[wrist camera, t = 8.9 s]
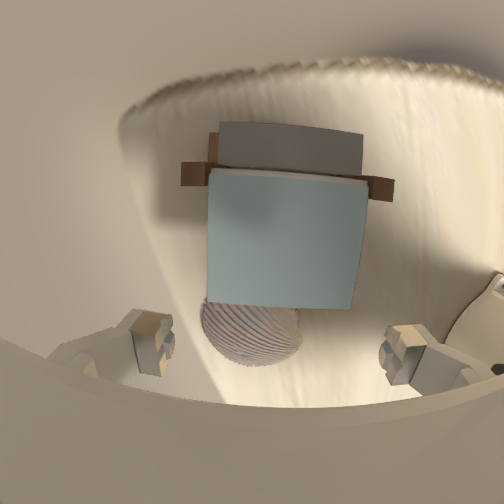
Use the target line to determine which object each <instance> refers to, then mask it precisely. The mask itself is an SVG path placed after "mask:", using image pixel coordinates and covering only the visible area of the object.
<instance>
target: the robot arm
mask: <svg viewBox="0 0 504 504" xmlns="http://www.w3.org/2000/svg"><path fill="white" fill-rule="evenodd" d="M172 326H173V320H172V316H171V314H167V313H161V312H154V311H148V310H143V309H132V310H131V311H130V312H129V313H128V314H127V315H126V316H125V317H124V319H123V320H122V321H121V322H120V323H119V324H118V325H117V327H115V328H108V329H105V330H103V331H100V332H97V333H94V334H91V335H88V336H85V337H82V338H79V339H76V340H73V341H70V342H67V343H63V344H61V345H59V346H58V347H57V348H56V349H55V350H54V351H53V352H52V353H51V354H50V355H49V356H48V357H47V358H43V357H41V356H39V355H36V354H34V353H32V352H30V351H28V350H25V349H23V348H21V347H19V346H17V345H15V344H13V343H11V342H9V341H7V340H5V339H3V338H1V337H0V504H504V275H502V274H497V275H496V276H495V277H494V278H493V280H492V281H491V283H490V284H489V286H488V287H487V289H486V290H485V291H484V292H483V293H482V294H481V295H480V296H479V297H478V298H476V299H475V300H474V301H473V302H472V303H471V304H470V305H469V306H468V307H467V308H466V309H465V311H464V312H463V313H462V314H461V316H460V317H459V318H458V320H457V321H456V323H455V324H454V326H453V327H452V329H451V331H450V333H449V335H448V337H447V339H446V341H445V344H439V343H438V342H437V340H436V339H435V338H434V337H433V336H432V335H431V334H430V332H429V331H428V330H427V329H426V328H425V327H424V326H423V325H422V324H412V325H397V326H388V328H387V329H386V332H385V335H384V336H385V339H386V341H385V342H384V343H383V344H382V345H381V347H380V351H379V362H380V365H381V367H382V368H383V369H385V370H386V371H387V372H386V374H385V375H386V377H387V379H388V381H389V383H390V385H391V386H394V385H404V384H409V385H410V386H411V387H413V388H414V389H415V390H416V391H418V392H419V393H420V394H421V395H423V396H422V397H416V398H411V399H405V400H399V401H392V402H385V403H377V404H368V405H358V406H345V407H327V408H273V407H254V406H241V405H230V404H221V403H212V402H205V401H198V400H192V399H185V398H180V397H174V396H169V395H164V394H159V393H154V392H150V391H145V390H141V389H137V388H133V387H129V386H125V385H124V384H125V383H127V382H128V381H130V380H131V379H133V378H135V377H136V376H137V375H139V374H140V373H143V374H148V375H154V376H159V377H161V376H162V375H163V373H164V371H165V369H166V367H167V361H166V360H168V359H170V358H171V356H172V354H173V351H174V344H175V339H174V334H173V333H172V331H171V330H170V329H171V327H172Z"/></svg>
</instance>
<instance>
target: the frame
mask: <svg viewBox="0 0 504 504" xmlns="http://www.w3.org/2000/svg"><path fill="white" fill-rule="evenodd" d="M218 147H219V133H210V134H209V151H208V162H182V164H181V186H208V185H209V174H211V169H212V168H221V169H226V166H224V165H219V164H218ZM213 163H215V164H213ZM338 177H341V178H349V179H356V180H363V181H367V187H369V192H368V198H369V199H372V200H380V201H387V202H393V192H394V181H395V180H394V179H389V178H383V177H377V176H363V175H361V176H348V175H338Z"/></svg>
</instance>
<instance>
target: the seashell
mask: <svg viewBox="0 0 504 504" xmlns="http://www.w3.org/2000/svg"><path fill="white" fill-rule="evenodd" d="M204 309H205V311H204V312H203V318H202V319H203V327H204V331H205V333H206V336H207V337H208V338H209V341H210V342H211V343H212V345H213V346H214V347H215V348H216V349H217V350H218V351H219V352H220V353H221V354H223V355H224V356H225V357H226V358H228V359H229V360H232V361H234V362H235V363H236V362H237V363H238V364H242V365H246V366H247V367H248V366H266V365H270V364H275V363H278V362H281V361H283V360H285V359H287V358H289V357H290V356H292V355H293V354H294V353H295V352H296V351H297V350H298V349H299V348H300V346H301V344H302V340H303V339H302V335H301V334H300V332H299V329H298V325H297V323H298V321H299V320H298V316H299V313H298V312H296V311H297V310H296V308H284V307H267V306H252V305H238V304H226V303H214V302H207V305H206V304H205V305H204Z"/></svg>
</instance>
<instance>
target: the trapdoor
mask: <svg viewBox="0 0 504 504" xmlns="http://www.w3.org/2000/svg"><path fill="white" fill-rule="evenodd" d="M362 156H363V135H362V134H356V133H350V132H344V131H338V130H331V129H323V128H315V127H306V126H297V125H285V124H272V123H253V122H220V130H219V147H218V164H219V165H224V166H234V167H256V168H273V169H286V170H298V171H309V172H318V173H327V174H336V175H348V176H361V172H362ZM368 192H369V187H367V181H363V180H356V179H349V178H341V177H333V176H324V175H314V174H304V173H293V172H280V171H266V170H248V169H221V168H212V169H211V174H209V185H208V219H207V302H214V303H226V304H238V305H252V306H267V307H284V308H305V309H334V310H350V307H351V303H352V298H353V293H354V288H355V283H356V278H357V272H358V267H359V261H360V255H361V248H362V242H363V235H364V227H365V219H366V211H367V202H368Z"/></svg>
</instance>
